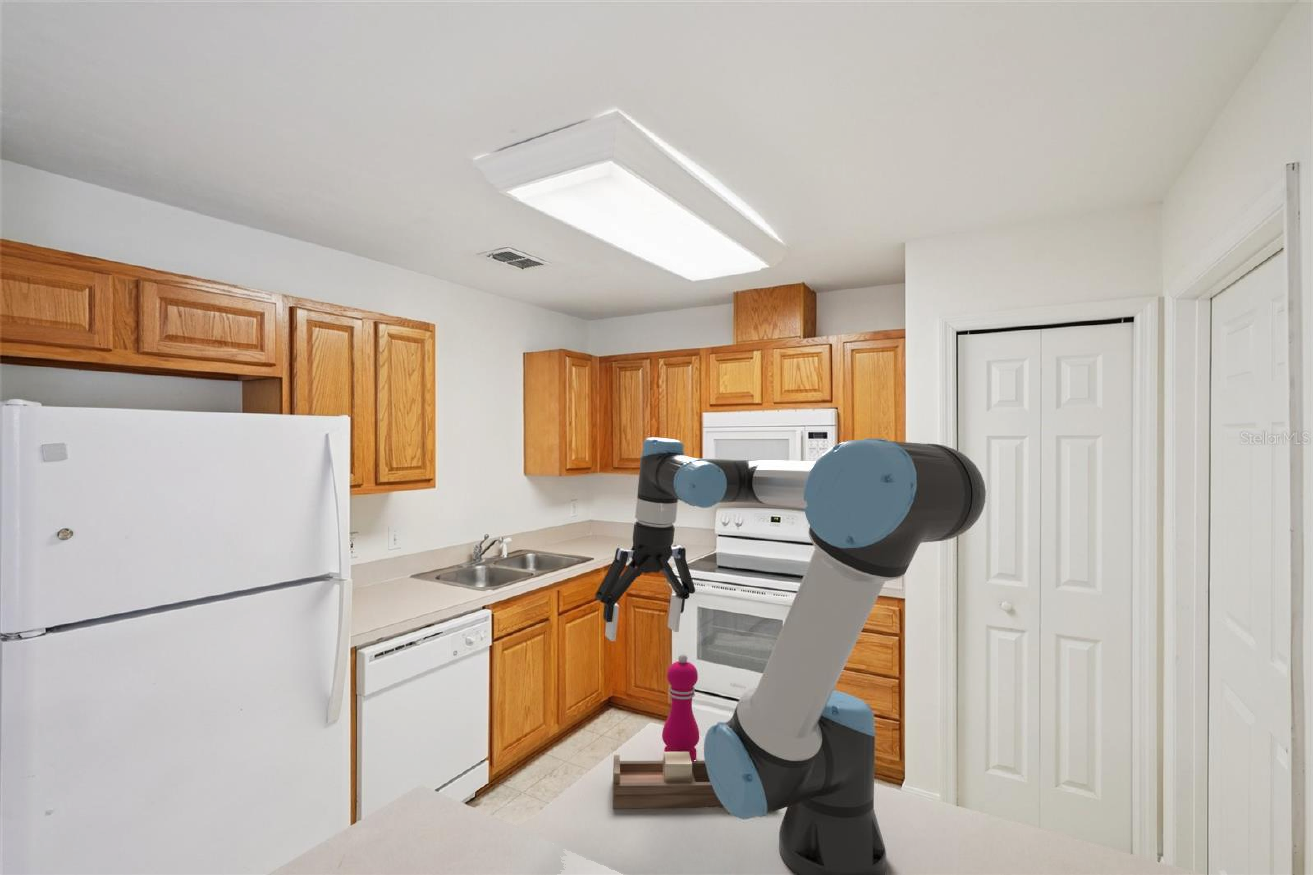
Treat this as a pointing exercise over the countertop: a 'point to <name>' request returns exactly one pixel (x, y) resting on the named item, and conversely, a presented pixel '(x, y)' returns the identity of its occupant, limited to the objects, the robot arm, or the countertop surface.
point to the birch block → (677, 767)
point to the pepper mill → (681, 709)
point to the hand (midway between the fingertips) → (642, 633)
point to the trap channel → (660, 786)
